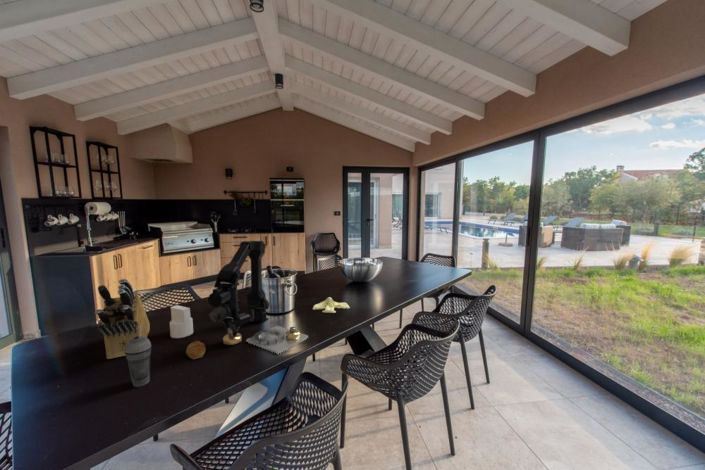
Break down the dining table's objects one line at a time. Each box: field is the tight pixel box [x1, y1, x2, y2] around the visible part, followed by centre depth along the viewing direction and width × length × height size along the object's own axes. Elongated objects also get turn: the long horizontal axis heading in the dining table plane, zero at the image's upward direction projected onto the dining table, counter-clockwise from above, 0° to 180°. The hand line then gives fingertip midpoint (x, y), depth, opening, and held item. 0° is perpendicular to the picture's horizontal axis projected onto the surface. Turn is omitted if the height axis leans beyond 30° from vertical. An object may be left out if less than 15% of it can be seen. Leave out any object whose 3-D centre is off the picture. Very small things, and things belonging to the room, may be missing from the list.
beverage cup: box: [125, 324, 153, 388], centre depth 100 cm, size 7×7×20 cm
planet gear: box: [222, 326, 242, 346], centre depth 129 cm, size 7×7×6 cm
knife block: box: [94, 278, 151, 360], centre depth 123 cm, size 11×35×31 cm, turn 26°
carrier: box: [246, 325, 309, 355], centre depth 131 cm, size 19×17×5 cm
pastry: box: [185, 340, 207, 360], centre depth 120 cm, size 9×7×4 cm
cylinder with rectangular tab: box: [169, 304, 194, 339], centre depth 138 cm, size 9×9×12 cm
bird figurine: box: [312, 296, 351, 314], centre depth 173 cm, size 22×19×6 cm
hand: (232, 335), depth 129 cm, fingers closed on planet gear, 3 cm apart
